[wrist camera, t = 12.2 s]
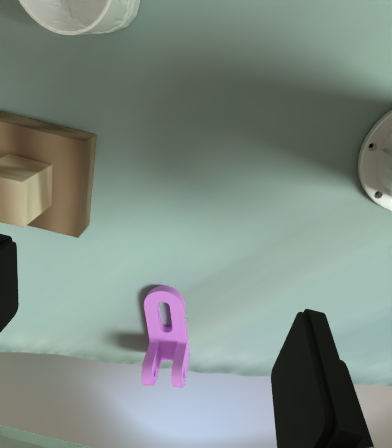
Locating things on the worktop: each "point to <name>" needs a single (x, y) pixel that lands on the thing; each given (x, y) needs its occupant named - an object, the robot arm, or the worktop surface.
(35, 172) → the maple block
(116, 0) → the white cup
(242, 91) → the worktop surface
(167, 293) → the bracket
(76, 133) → the base block
